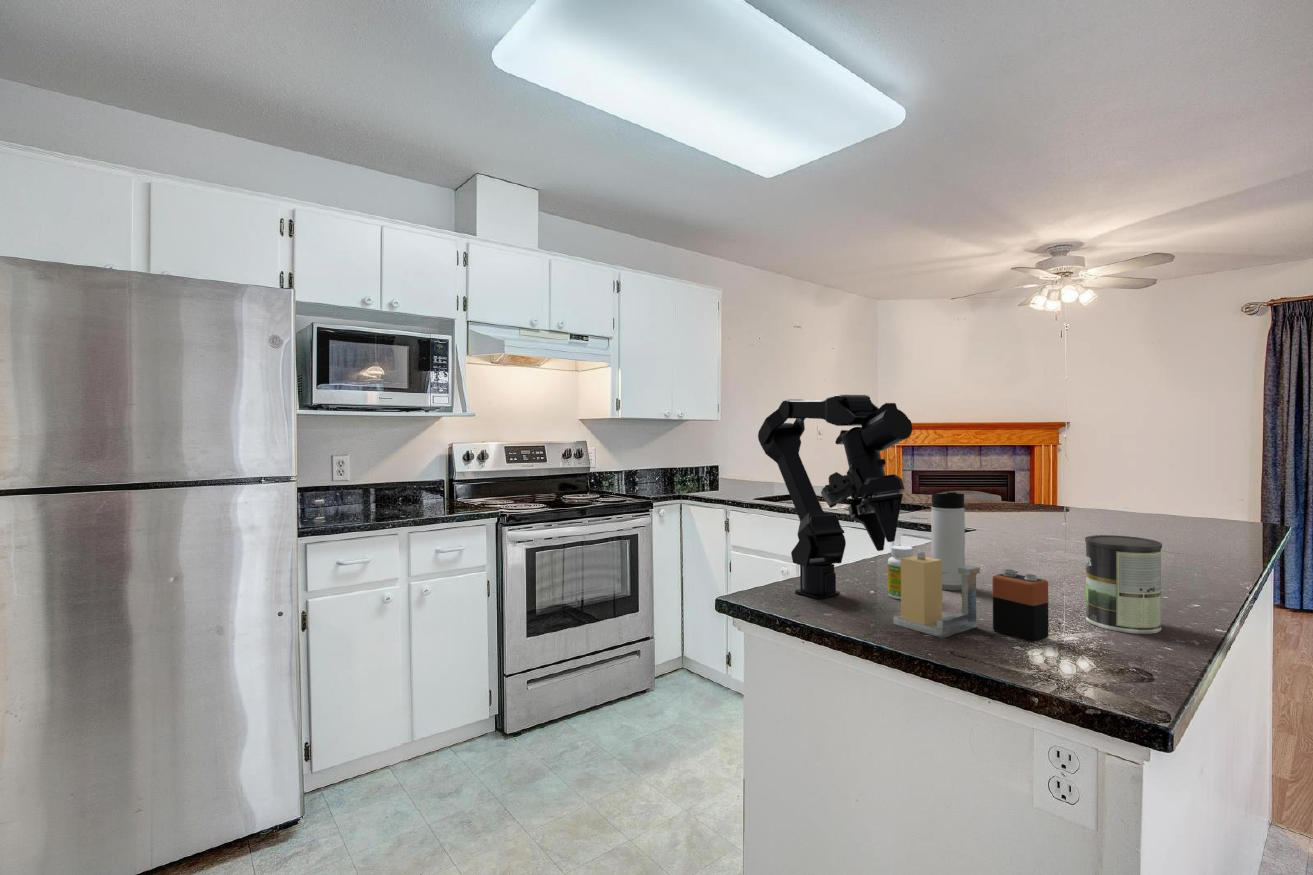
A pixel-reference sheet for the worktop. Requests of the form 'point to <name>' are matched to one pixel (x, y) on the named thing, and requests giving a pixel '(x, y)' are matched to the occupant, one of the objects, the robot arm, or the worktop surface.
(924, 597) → the block
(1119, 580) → the coffee can
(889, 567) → the supplement bottle
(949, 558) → the travel mug
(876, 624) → the worktop surface
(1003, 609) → the battery
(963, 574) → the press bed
